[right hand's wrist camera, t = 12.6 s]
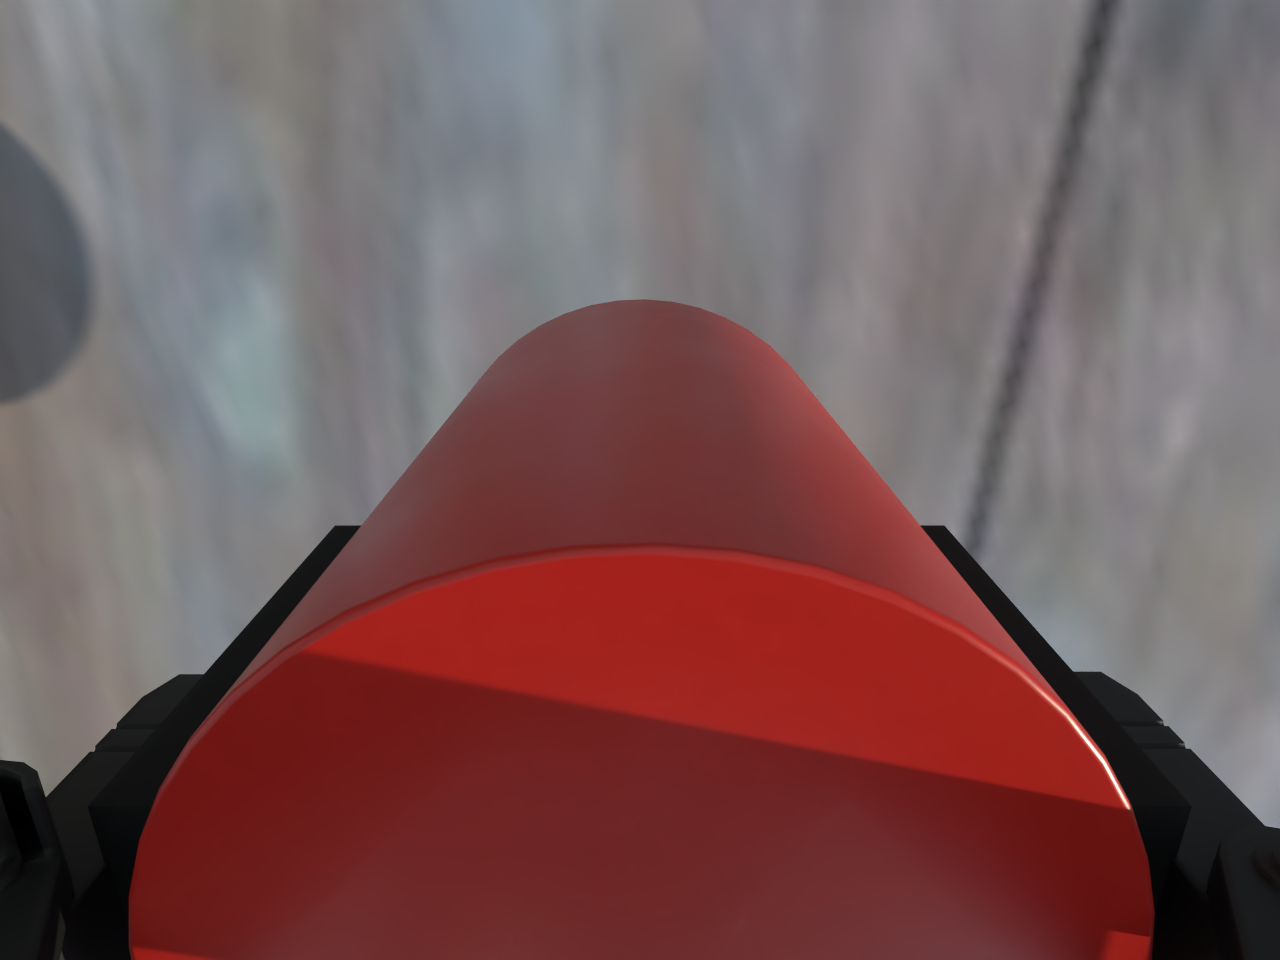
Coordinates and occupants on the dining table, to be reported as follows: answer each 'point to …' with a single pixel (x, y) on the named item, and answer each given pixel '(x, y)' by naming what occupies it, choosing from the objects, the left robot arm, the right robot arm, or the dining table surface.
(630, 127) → the dining table surface
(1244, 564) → the dining table surface
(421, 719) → the tin
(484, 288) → the dining table surface
